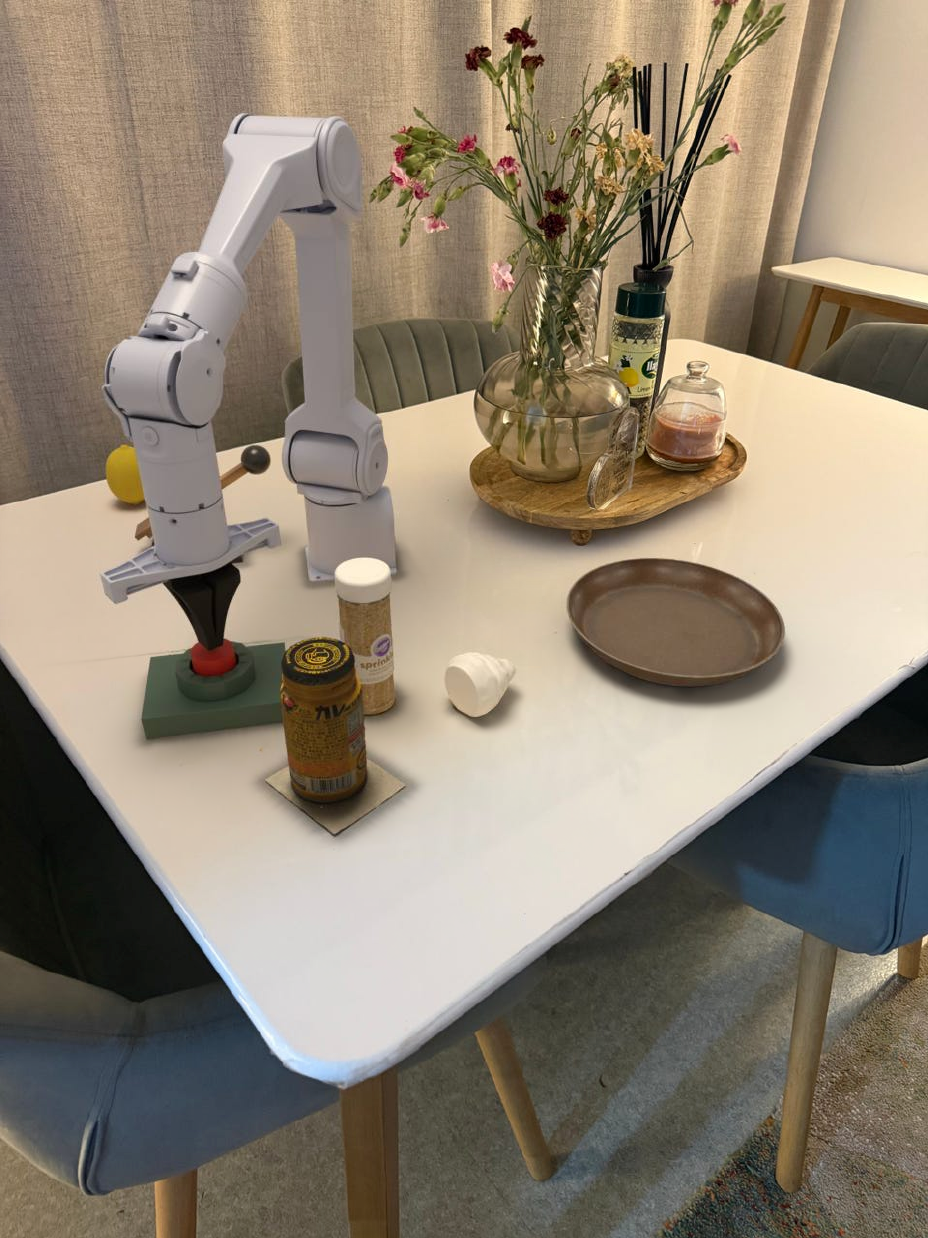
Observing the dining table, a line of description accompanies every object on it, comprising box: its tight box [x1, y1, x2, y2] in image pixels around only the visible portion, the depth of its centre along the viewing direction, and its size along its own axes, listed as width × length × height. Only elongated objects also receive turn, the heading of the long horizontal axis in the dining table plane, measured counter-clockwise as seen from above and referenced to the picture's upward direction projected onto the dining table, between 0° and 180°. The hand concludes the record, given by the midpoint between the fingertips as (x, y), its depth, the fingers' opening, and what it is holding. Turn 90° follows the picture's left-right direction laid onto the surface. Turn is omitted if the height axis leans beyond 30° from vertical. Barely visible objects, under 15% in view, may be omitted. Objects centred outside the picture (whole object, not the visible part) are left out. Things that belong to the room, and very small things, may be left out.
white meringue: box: [444, 651, 517, 718], centre depth 77 cm, size 6×6×5 cm
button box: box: [141, 640, 287, 740], centre depth 78 cm, size 12×9×4 cm
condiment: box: [265, 636, 407, 835], centre depth 66 cm, size 7×8×12 cm
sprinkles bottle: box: [334, 558, 397, 715], centre depth 75 cm, size 5×5×14 cm
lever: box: [134, 444, 272, 541], centre depth 98 cm, size 17×3×3 cm
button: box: [190, 637, 236, 677], centre depth 76 cm, size 4×4×2 cm
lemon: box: [105, 444, 145, 506], centre depth 109 cm, size 6×6×8 cm
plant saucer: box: [566, 557, 786, 688], centre depth 86 cm, size 21×21×3 cm
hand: (210, 643), depth 75 cm, fingers closed
